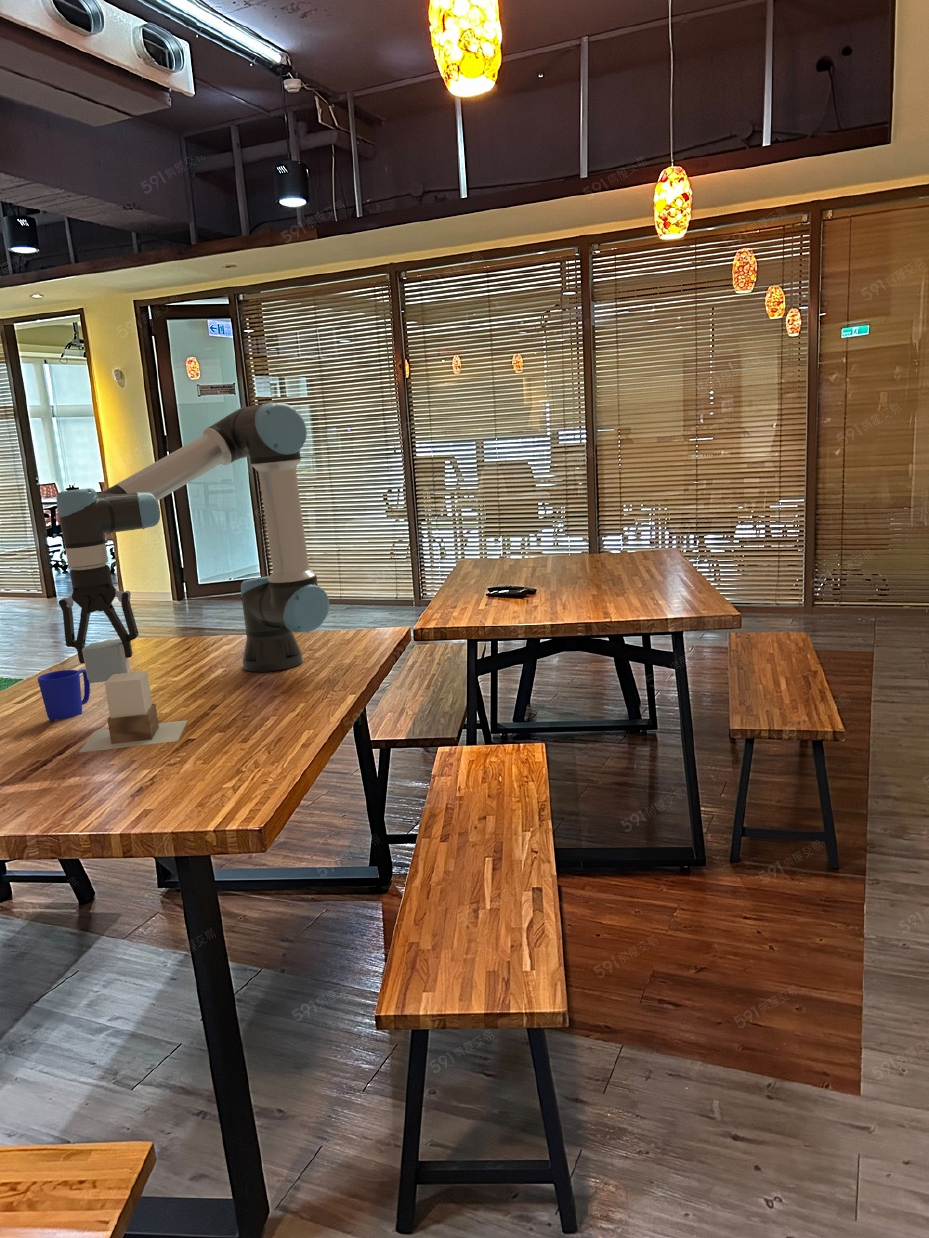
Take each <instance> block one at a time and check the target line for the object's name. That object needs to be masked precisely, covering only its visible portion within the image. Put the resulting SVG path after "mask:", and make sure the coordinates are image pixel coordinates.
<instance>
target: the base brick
mask: <svg viewBox="0 0 929 1238" xmlns="http://www.w3.org/2000/svg"><path fill="white" fill-rule="evenodd" d="M158 719H159V718H158V712H157V705H156V703H152V706H151V707H150V709H149V710H148V712H147V713H146V714H145V715H135V716H126V717H117V718H110V716H109V717H108V718H107V726H108V729H109V733H110V739H111V744H117V743H126V742H134V741H143V740H151V739H153V737H154V735H155V733H156V732H157V730H158V728H159V724H158V723H159V720H158Z"/></svg>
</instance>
